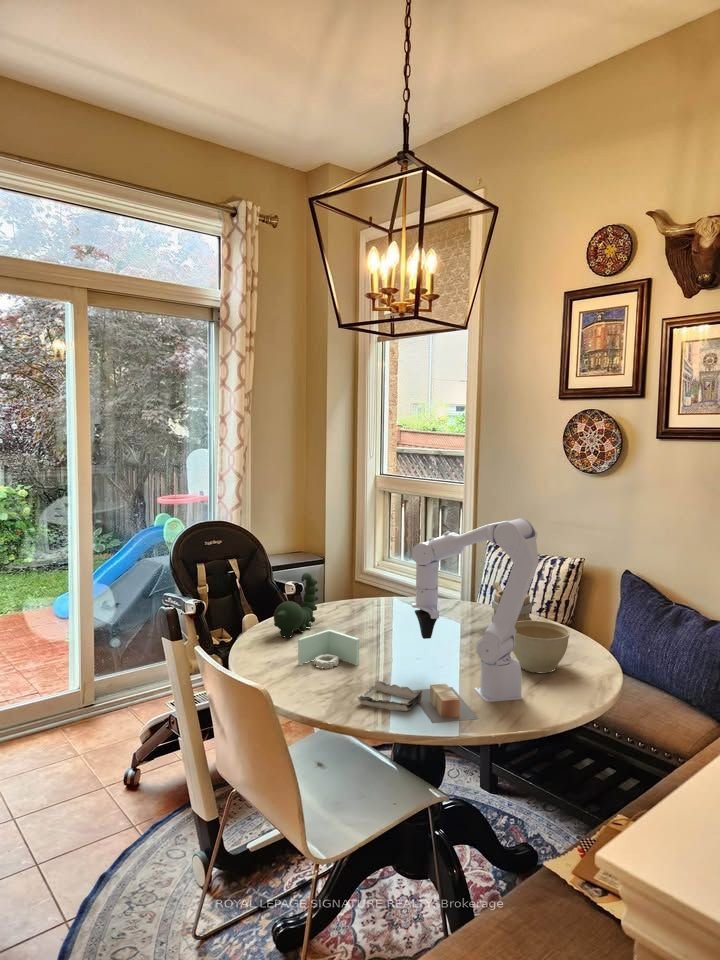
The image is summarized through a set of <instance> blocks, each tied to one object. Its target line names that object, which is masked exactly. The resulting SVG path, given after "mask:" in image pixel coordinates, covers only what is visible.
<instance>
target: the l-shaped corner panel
mask: <svg viewBox="0 0 720 960" xmlns="http://www.w3.org/2000/svg"><path fill="white" fill-rule="evenodd" d="M297 650H298V651H297V652H298V653H297V657H298V658H297V660H298V661H297V663H298V664H303V663H305V662H308V661H311V660H314V659H315V660H314V661H313V665H315V664H316V666H319V667H318V669H319V668H321V669H323V668H325V669H327V668H330V669H334V668H333V666H336V665H337V664H338V665H339V662H340V661H342V660H344V661H343V662H345V661H347V662H346V663H348V662H349V664H351V663H352V664H351V665H353V664H354V666H356V665H357V666H359V665H360V638H358V637H354V636H352V635H349V634H345V633H342V632H339V631H336V630H333V629H326V630H323V631H319V632H317V633H314V634H310V635H308V636H303V637H301V638H298V639H297ZM338 658H339V659H338ZM340 659H341V660H340ZM298 664H297V665H298ZM316 666H315V667H316ZM322 667H323V668H322Z"/></svg>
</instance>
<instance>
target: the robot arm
mask: <svg viewBox="0 0 720 960" xmlns="http://www.w3.org/2000/svg"><path fill="white" fill-rule="evenodd" d="M537 537H538V532H537V531H536V529H535V527H534V525H533V524H532V523H531V521H529V519H526V518H523V517H519V518H518V517H517V518H515V519H512V520H511V519H510V520H503V521H499V522H493V523H489V524H486V525H483V526H480V527H478V528H474V529H472V530H470V531H467V532H465V533H464V532H463V534H458V533H457V532H455V531H454V532H453V531H452V532H451V531H446V532H443V534H442V535H440V536H438V537H436V538H435V537H430V538H428V541H425V542H419V543H417V544H416V545H414V546H413V548H412V551H411V556H412V559H413V560H414V562H415V563H416V564H415V572H416V573H415V602H414V603H411V607H412V608H413V609H415V608H416V610H414V613H415V616H416V618H417V620H418V624H419V630H420V635H421V638H422V639H432V636H433V632H434V628H435V624H436V622H437V620H438V619H440V611H439V608H440V607H439V601H438V600H439V567H440V566H439V565H440V564H439V563H440V561H442V560H445V559H448V558H451V557H455V556H458V555H461V554H462V552H463V551H464V549H465V547H467V546H471V545H474V544H477V543H480V542H484V541H489V542H490V543H492V544H497V545H498V547H500V548H501V550H502V551H504V553H505V554H506V555H507V556H508V557H509V559H510V560H511V561H512V563H513V566H512V567H511V570H510V573H509V576H508V579H507V582H506V585H505V588H504V589H503V590H504V592H503V595H502V598H501V600H500V603H499V606H498V608H497V611H496V614H495V617H494V619H493V622H492V621H491V623H490V624H489V625H488V627H487V628H486V630H485V632H484V634H483V636H482V637H481V638H480V639H478V641H477V642H476V647H475V652H476V654H477V655H478V658H479V659H480V673H479V674H480V681H479V683H480V685H479V686H480V687H474V688H473V690H475V692H476V693H477V694H478V695H479V696H480V697H481V699H483V700H484V702H486V703H490V702H491V703H493V702H502V701H503V702H505V701H514V700H515V701H516V700H523V696H522V668H521V667H520V664H519V661H518V659H517V658H516V657H515V658H514V657H513V658H512V657H511V653H513V650H514V648H515V634H516V629H515V624H516V621H517V619H518V616H519V613H520V611H521V608H522V606H523V603H524V600H525V598H526V595H527V594H528V592H529V590H530V587H531V584H532V582H533V579H534V576H535V575H536V572H537V568H538V566H539V561H540V559H539V551H538V545H537Z"/></svg>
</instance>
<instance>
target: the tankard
mask: <svg viewBox="0 0 720 960" xmlns="http://www.w3.org/2000/svg"><path fill="white" fill-rule="evenodd" d="M492 589H493V590H495V593H494V595H493V597H494V598H493V599H492V601H491V608H492V609H493V614H492V616H491V623H492V622H493V619H494V617H495V614H496V611H497V608H498V606H499V603H500V600H501V598H502V595H503V592H504V589H503V588H502V587H501V586H500V583H499V582H497V581H495V582H494V583H493V584H492ZM530 600H531V595H530V594H528V593H527V595H526V598H525V600H524V603H523V606H522V608H521V611H520V613H519V616H518V619H517V621H516V622H518V621H533V620H532V619H533V618H531V617H530V614H531V613H530V612H531V611H533V603H532V602H531V601H530Z"/></svg>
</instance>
